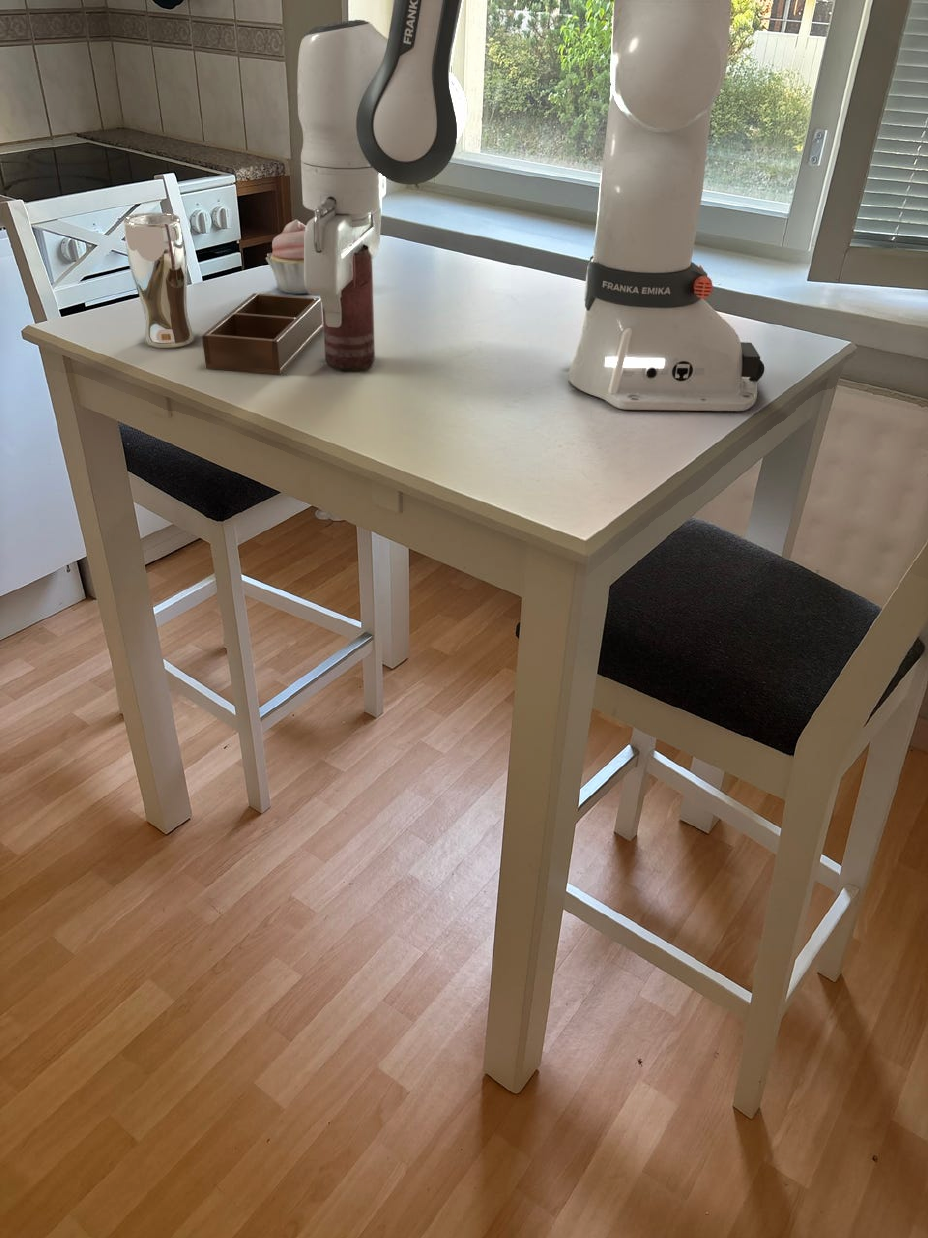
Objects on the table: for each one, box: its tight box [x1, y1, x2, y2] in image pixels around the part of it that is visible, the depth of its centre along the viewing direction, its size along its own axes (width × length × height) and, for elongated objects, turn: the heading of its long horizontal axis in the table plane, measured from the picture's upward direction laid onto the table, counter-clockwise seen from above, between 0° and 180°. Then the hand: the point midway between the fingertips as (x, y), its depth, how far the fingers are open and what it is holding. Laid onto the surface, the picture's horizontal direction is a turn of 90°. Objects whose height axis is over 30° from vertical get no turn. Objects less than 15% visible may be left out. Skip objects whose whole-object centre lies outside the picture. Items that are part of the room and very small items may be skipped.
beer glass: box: [122, 212, 195, 349], centre depth 119 cm, size 7×7×15 cm
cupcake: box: [265, 219, 309, 295], centre depth 142 cm, size 9×9×10 cm
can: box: [321, 244, 376, 373], centre depth 114 cm, size 6×6×14 cm
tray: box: [201, 292, 324, 376], centre depth 121 cm, size 9×18×4 cm, turn 171°
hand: (345, 313), depth 115 cm, fingers open, 8 cm apart
